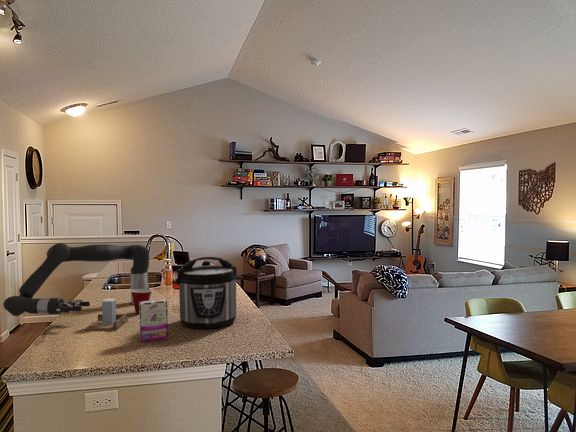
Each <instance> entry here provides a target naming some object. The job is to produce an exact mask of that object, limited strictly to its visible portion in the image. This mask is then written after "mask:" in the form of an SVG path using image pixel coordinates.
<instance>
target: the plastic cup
mask: <svg viewBox="0 0 576 432" xmlns="http://www.w3.org/2000/svg"><path fill="white" fill-rule="evenodd" d="M152 292H153V290H152V289H149V290H148V289H137V290H131V289H130V294H131V293H132V297H133V302H134V304H133V308H134V312H135V314H137V315H140V314H139V302H140V301H150V300H151V299H150V298H151V295H152Z"/></svg>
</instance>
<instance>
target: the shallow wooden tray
mask: <svg viewBox="0 0 576 432" xmlns="http://www.w3.org/2000/svg"><path fill="white" fill-rule="evenodd" d="M128 316H129V315H128V313H123V314H122V313H116V321H115V322H114V323H113V324H103V323H102V313H98V314H97V320H96V321H94V322H92V323H91V324H89V325H88V326H86V327H85V328H84V331H85V332H86V331H87V332H88V331H89V332H90V331H91V332H92V331H95V332H96V331H117V330H119V329H120V328H121V327H122V326H123V325H125V324H126V323H128V319H129V317H128Z"/></svg>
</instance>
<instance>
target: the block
mask: <svg viewBox="0 0 576 432" xmlns="http://www.w3.org/2000/svg"><path fill="white" fill-rule="evenodd" d="M116 299H117V298H105V299H102V301H101V302H102V303H101V305H102V306H101V307H102V308H101V309H102V310H101V311H102V313H101V314H102V323H103V324H113V323H114V322H115V321H116V314H117V311H116V310H117V307H116V306H117V302H116V301H117V300H116Z"/></svg>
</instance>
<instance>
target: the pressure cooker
mask: <svg viewBox="0 0 576 432" xmlns="http://www.w3.org/2000/svg"><path fill="white" fill-rule="evenodd" d="M209 260H213V261H218V262H219V263H220V264H221V265H214V264H213V265H211V261H209ZM199 261H203V262H201V263H202V264H201V265H199V266H194V265H195V264H196V262H199ZM237 280H239V281H240V280H243V275H240V274H237V266H235V265H233V263H232V262H230V261H228V260H227V259H225V258H223V257H217V256H216V257H215V256H204V257H203V256H202V257H197V258H194V259H192V260H190V261H188V262H185V263H184V264H183V265H182V268H178V269H177V278H173V279H172V280H171V281H172V282H171V283H172V284H174V285H177V286H178V290H179V291H178V293H179V294H178V296H179V320H180V322H181V324H183V325H184V326H185V327H187V328H191V329H192V328H193V329H202V330H203V329H205V330H206V329H215V328H221V327H225V326H228V325H231V324H233V323H234V322H235V320H236V317H237V309H238V308H237Z"/></svg>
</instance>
